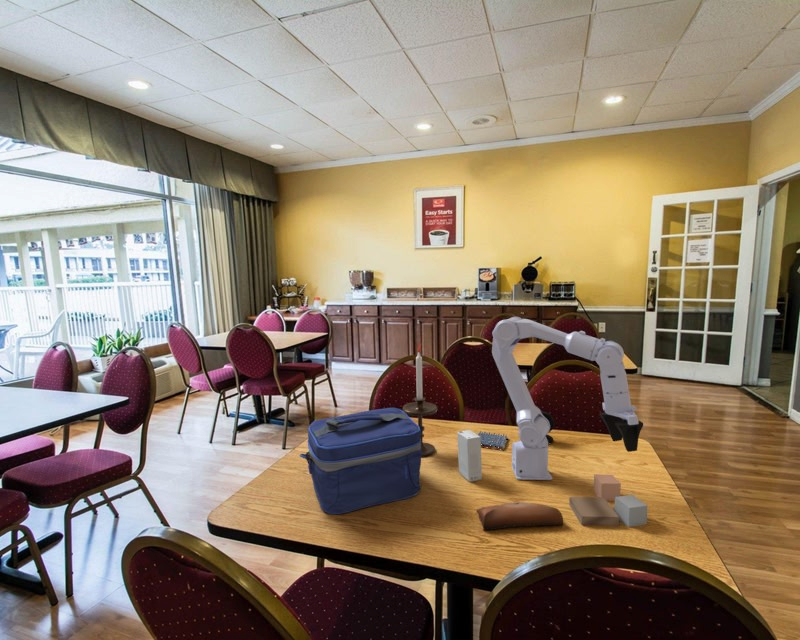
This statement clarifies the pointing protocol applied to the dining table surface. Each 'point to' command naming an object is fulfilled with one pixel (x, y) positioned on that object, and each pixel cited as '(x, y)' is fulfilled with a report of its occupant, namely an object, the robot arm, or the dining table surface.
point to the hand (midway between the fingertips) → (624, 445)
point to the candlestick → (421, 407)
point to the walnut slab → (593, 511)
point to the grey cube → (631, 510)
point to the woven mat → (492, 437)
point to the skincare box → (469, 455)
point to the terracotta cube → (606, 486)
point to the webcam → (550, 425)
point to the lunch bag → (364, 459)
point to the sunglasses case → (518, 515)
